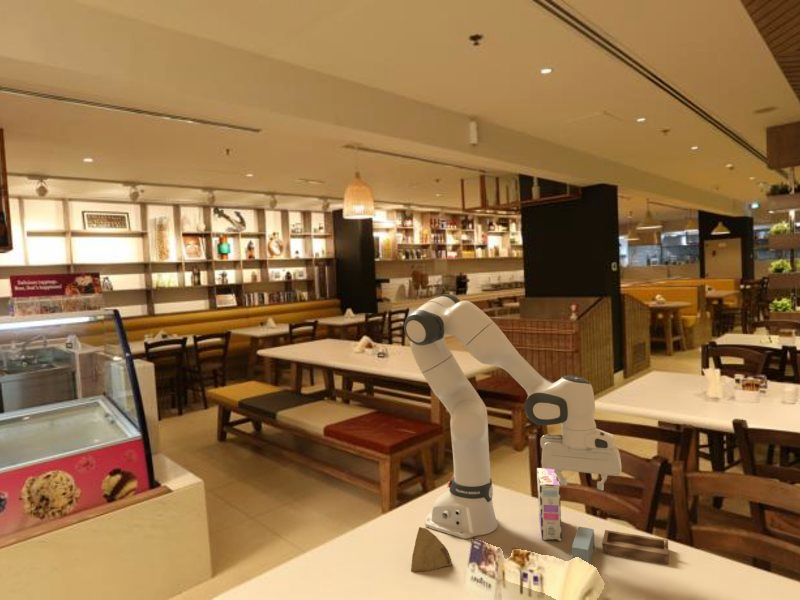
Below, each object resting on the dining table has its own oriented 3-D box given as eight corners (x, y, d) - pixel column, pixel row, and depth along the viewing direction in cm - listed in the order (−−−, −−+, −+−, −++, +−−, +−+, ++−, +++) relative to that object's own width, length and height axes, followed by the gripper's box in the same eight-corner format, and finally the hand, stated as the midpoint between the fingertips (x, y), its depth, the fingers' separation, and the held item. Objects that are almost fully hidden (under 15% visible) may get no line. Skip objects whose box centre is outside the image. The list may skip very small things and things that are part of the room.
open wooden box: (602, 552, 142) (601, 537, 142) (605, 538, 149) (604, 524, 149) (668, 564, 135) (668, 548, 134) (668, 549, 142) (667, 534, 142)
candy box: (562, 541, 149) (560, 485, 148) (541, 540, 150) (539, 484, 149) (558, 519, 162) (555, 467, 161) (538, 518, 163) (536, 466, 163)
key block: (572, 565, 137) (571, 547, 137) (579, 543, 147) (578, 526, 147) (588, 568, 135) (587, 549, 135) (594, 546, 146) (593, 528, 145)
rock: (458, 549, 143) (424, 538, 148) (454, 534, 138) (419, 523, 142) (445, 588, 136) (410, 576, 140) (440, 575, 131) (404, 562, 135)
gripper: (537, 437, 142) (540, 486, 142) (618, 443, 132) (621, 496, 133) (542, 430, 147) (545, 478, 148) (620, 435, 138) (623, 487, 139)
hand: (581, 487), depth 140 cm, fingers open, 8 cm apart
